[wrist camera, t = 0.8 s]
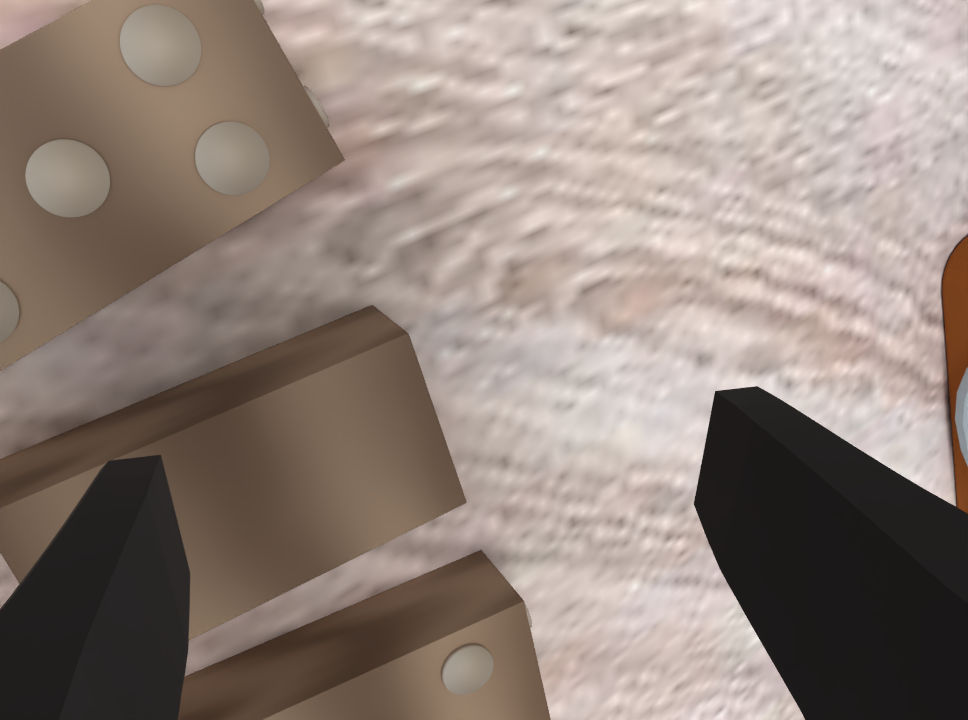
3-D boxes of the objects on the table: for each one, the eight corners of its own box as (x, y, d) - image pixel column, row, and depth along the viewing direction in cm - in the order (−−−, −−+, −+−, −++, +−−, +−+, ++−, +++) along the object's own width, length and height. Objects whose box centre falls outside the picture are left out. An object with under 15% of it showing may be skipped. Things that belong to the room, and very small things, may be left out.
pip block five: (-53, 369, 25) (-78, 420, 21) (-222, 182, 22) (-285, 202, 18) (318, 146, 27) (355, 156, 23) (205, -49, 24) (226, -73, 21)
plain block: (86, 615, 28) (86, 691, 25) (-7, 458, 26) (-22, 517, 22) (424, 455, 31) (466, 502, 28) (369, 302, 29) (408, 333, 26)
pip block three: (212, 810, 32) (228, 906, 28) (156, 683, 30) (166, 768, 26) (513, 667, 36) (562, 735, 32) (483, 544, 33) (533, 601, 30)
